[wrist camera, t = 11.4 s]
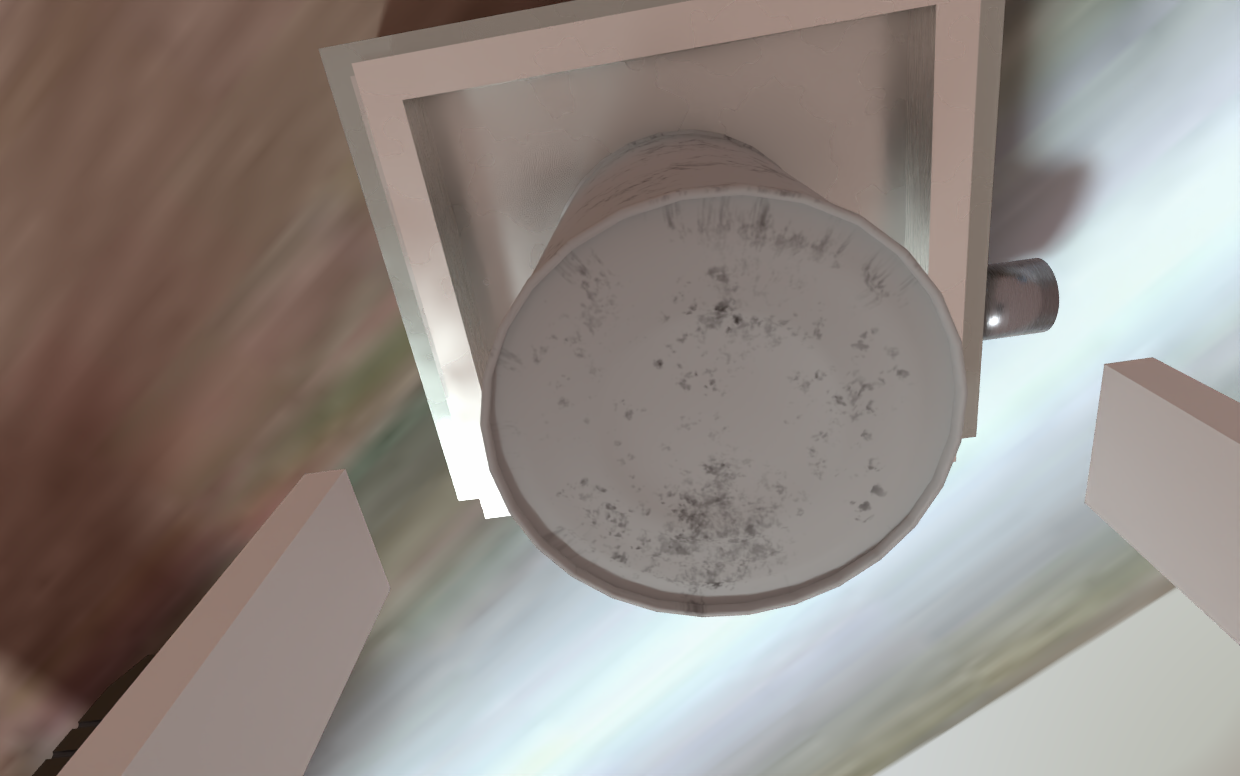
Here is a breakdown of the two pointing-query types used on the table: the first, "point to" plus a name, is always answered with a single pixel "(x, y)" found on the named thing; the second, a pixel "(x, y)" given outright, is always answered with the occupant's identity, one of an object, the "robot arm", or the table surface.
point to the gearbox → (664, 102)
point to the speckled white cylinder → (719, 385)
